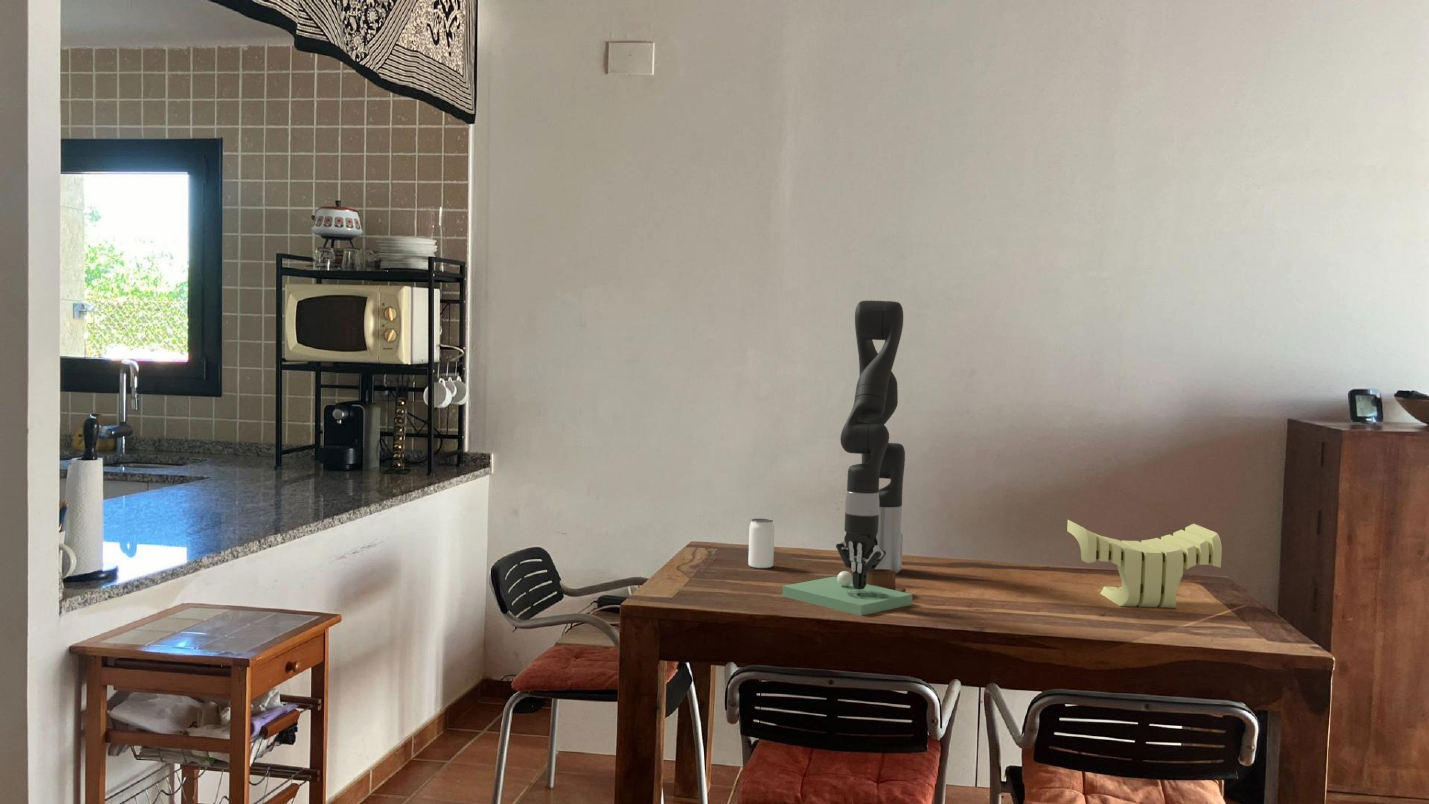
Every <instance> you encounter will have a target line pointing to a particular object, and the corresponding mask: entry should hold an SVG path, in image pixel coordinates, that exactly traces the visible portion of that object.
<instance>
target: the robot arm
mask: <svg viewBox="0 0 1429 804" xmlns="http://www.w3.org/2000/svg"><path fill="white" fill-rule="evenodd" d="M854 312H855V313H854V328H855V337H856V343H857V344H856V345H857V353H858V363H859V365H858V366H859V377H858V380H857V383H856V389H855V395H854V402H853V405H852V408H851V412H850V413H849V415H848V418H847V419H846V421H845V424H844V425H843V428H842V430H841V433H840V438H839V439H840V445H841V447H842V449H843V450H844V452H846V453H849V454H854V455H855V454H857V455H858V454H859V455H861V463H855V464H852V465H850V466H849V467H848V469H847V481H846V485H847V486H846V497H845V507H844V509H845V510H844V531H845V535H844V539H843V541H842V542H840V543H836V545H835V548H836V549H837V552H838V553H839V555H840V558H841V559H842V562H843V564H844V565H845V567H846V568H848V569H850V570H851V571H852V581H853V586H854V588H855V589H859V590H860V589H864V588H865V587H866V580H867V572H868V571H872V570H874V569H889V570H895V574H899V573H900V571H902V568H903V567H902V565H903V533H902V515H903V513H902V511H903V485H904V475H905V473H904V472H905V465H906V464H905V463H906V450H905V447H904V446H903V444H902V443H897V442H889V441H890V433H889V429H888V428H887V427H886V425H885V424H886V423H888V421H889V420H890V418H891V417H892V415H893V414H894V413H895V412H896V410H897V408H898V402H899V400H898V399H899V398H898V396H899V393H898V391H899V390H898V389H899V388H898V381H897V378H896V376H895V374H894V373H893V371H892V370H893V366H894V364H895V359H896V356H897V352H898V348H899V345H900V341H901V339H902V332H903V327H904V310H903V307H902V304H901V303H900V302H899V301H892V300H862V301H861V300H860V301H859V302H858V303H857V305H856V307H855V311H854ZM873 340H874V341H884V344H883V345H882V347H881V349H880V350H879V352H878V350H877V349H876V347H875V344H874V341H873ZM880 479H886V480H887V479H888V480H890V482H889V483H888V484H887V485H885V486H884V487H882V488H880Z"/></svg>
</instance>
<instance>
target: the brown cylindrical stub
mask: <svg viewBox="0 0 1429 804" xmlns="http://www.w3.org/2000/svg"><path fill="white" fill-rule="evenodd" d="M866 584H869V585H873V586H878V587H883V588H887V589H891V590H896V591H900V592H905V593H906V588H905V587H902V586H900V587H899V586H896V573H895V570H889V569H874V570H872V571H868V572H867V580H866Z"/></svg>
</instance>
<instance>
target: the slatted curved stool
mask: <svg viewBox="0 0 1429 804" xmlns="http://www.w3.org/2000/svg"><path fill="white" fill-rule="evenodd" d="M1066 527H1067V530H1066V532H1068V533H1069V534H1071V535H1072V536H1073V537H1074V538H1075V539H1076V540H1077V542H1078V545H1079V548H1080V558H1081V559H1080V560H1081V561H1083V562H1084V563H1086V564H1091V563H1092V564H1093V563H1096V562H1097V561H1098V562H1107V563H1108V562H1111V563H1113V564H1114V565H1115V566H1116V567H1117V568H1116V569H1117V571H1118V574H1119V576H1120V580H1121V581H1120V582H1121V586H1119V587H1116V586H1106V585H1105V586H1103V588H1102V589H1101V591H1100V593H1099V594H1101V595H1102V596H1103V597H1105V598H1107V599H1108V600H1110V601H1111V602H1113V603H1114V604H1116V605H1118V606H1119V607H1135V608H1136V607H1137V606H1138V607H1139V608H1157V607H1159V608H1163V609H1164V608H1165V609H1167V608H1169V609H1176V608H1177V594H1178V593H1177V592H1178V588H1179V585H1180V582H1181V579H1182V578H1183V575H1184V569H1185V570H1189V569H1190V568H1192V567H1196V565H1199V566H1203V565H1205V566H1209V565H1210V566H1212V567H1215V568H1220V569H1221V568H1222V553H1223V549H1222V548H1223V547H1222V540H1221V537H1220V536H1219V533H1217V532H1216V531H1213V530H1210V529H1208V528H1205V527H1204V526H1201V525H1199V524H1196V523H1192V524H1189V525H1188V526H1186V527H1184V529H1185V530H1183V529H1179V530H1177V531H1174V532H1173V534H1166V535H1163V536H1160V538H1159V537H1155V538H1151V539H1143V540H1141V541H1139V540H1125V539H1124V540H1123V539H1122V540H1119V539H1118V538H1117V539H1116V538H1110V537H1108V536H1104V535H1100V534H1097V533H1095V532H1093V531H1090V530H1088V529H1087V528H1085V527H1083V526H1081V525H1079V524H1078V523H1075V522H1073V521H1071V520H1070V519H1067V526H1066Z"/></svg>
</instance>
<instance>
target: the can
mask: <svg viewBox="0 0 1429 804" xmlns="http://www.w3.org/2000/svg"><path fill="white" fill-rule="evenodd" d="M748 529H749V532H748V559H747V560H748V561H747V562H748V563H747V565H748V566H749V567H750V568H753V569H770V568H772V567H773V566H774V552H775V551H774V550H775V524H774V520H773V519H769V518H752V519H751V522H750V523H749V528H748Z"/></svg>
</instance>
